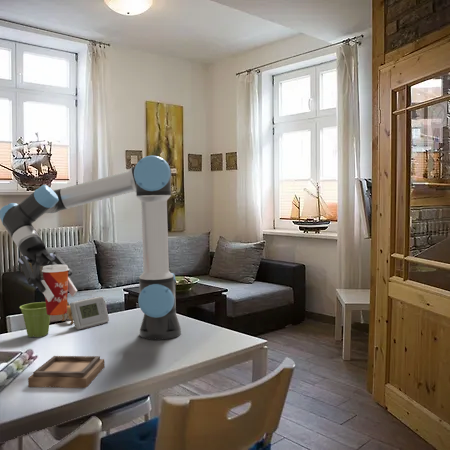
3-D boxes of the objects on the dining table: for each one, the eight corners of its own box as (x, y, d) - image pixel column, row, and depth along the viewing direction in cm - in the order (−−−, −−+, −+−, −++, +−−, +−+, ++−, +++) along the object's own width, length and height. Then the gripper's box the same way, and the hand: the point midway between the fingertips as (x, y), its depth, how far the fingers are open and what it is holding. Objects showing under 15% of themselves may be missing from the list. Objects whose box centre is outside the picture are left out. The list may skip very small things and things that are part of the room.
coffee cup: (62, 316, 151) (60, 267, 150) (37, 315, 153) (35, 267, 152) (75, 310, 159) (74, 264, 159) (52, 309, 161) (50, 263, 160)
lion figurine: (53, 320, 208) (52, 298, 207) (64, 317, 212) (63, 296, 211) (73, 325, 199) (73, 303, 198) (85, 322, 203) (84, 300, 202)
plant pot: (38, 329, 193) (37, 300, 192) (61, 333, 187) (60, 303, 187) (13, 337, 182) (12, 307, 182) (36, 341, 177) (35, 310, 176)
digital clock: (75, 331, 190) (74, 303, 189) (65, 327, 196) (64, 300, 196) (113, 323, 200) (113, 297, 200) (102, 320, 207) (102, 294, 207)
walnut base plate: (104, 367, 149) (104, 355, 149) (86, 387, 133) (85, 374, 133) (52, 366, 150) (52, 354, 150) (28, 387, 134) (27, 373, 134)
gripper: (51, 247, 172) (84, 297, 164) (-6, 254, 155) (28, 310, 147) (60, 232, 169) (94, 283, 161) (4, 237, 151) (39, 294, 143)
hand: (63, 296), depth 154 cm, fingers closed on coffee cup, 8 cm apart
